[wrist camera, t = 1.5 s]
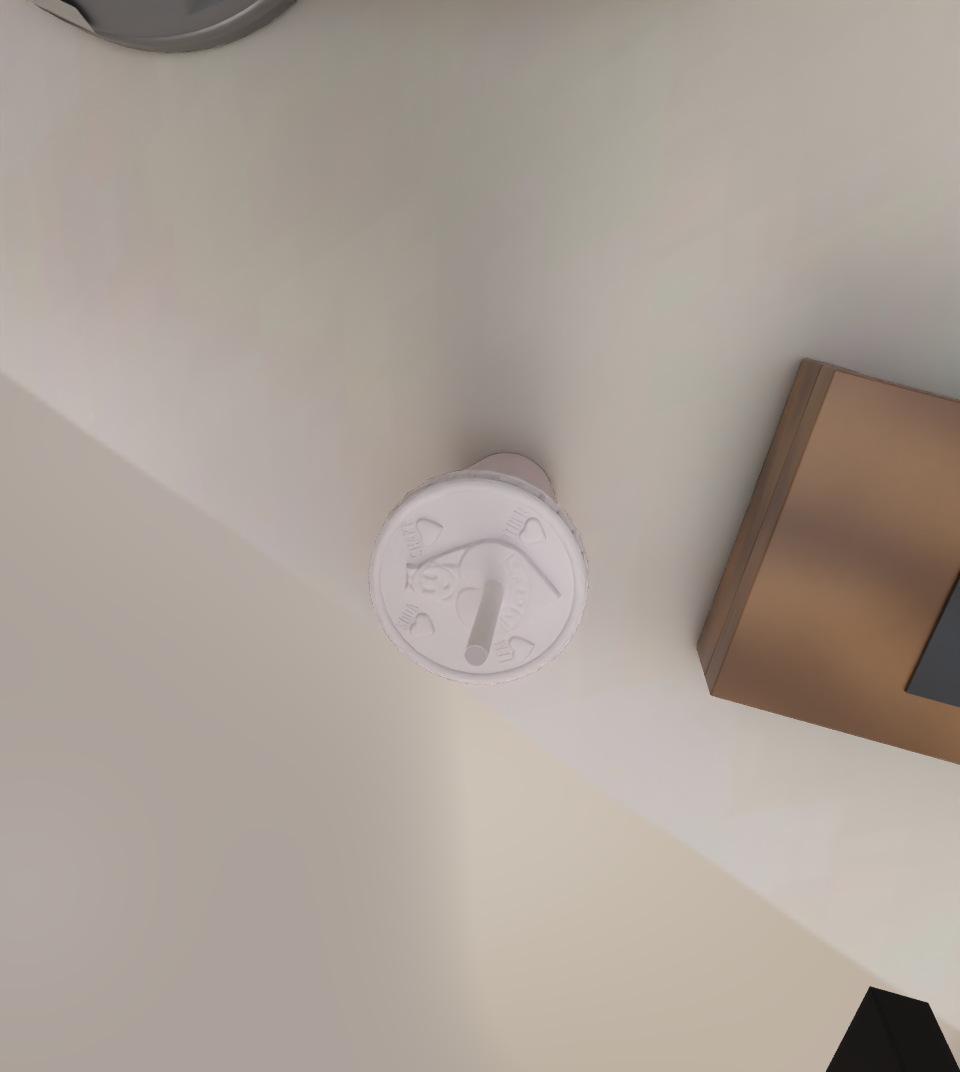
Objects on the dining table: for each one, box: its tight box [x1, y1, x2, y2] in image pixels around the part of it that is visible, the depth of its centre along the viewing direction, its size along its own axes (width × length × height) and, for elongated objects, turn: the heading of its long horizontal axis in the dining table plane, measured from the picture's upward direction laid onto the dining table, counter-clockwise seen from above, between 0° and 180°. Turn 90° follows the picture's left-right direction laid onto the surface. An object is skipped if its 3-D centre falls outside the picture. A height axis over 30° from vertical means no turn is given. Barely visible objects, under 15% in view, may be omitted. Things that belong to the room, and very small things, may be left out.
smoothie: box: [369, 453, 588, 684], centre depth 26 cm, size 6×6×14 cm
